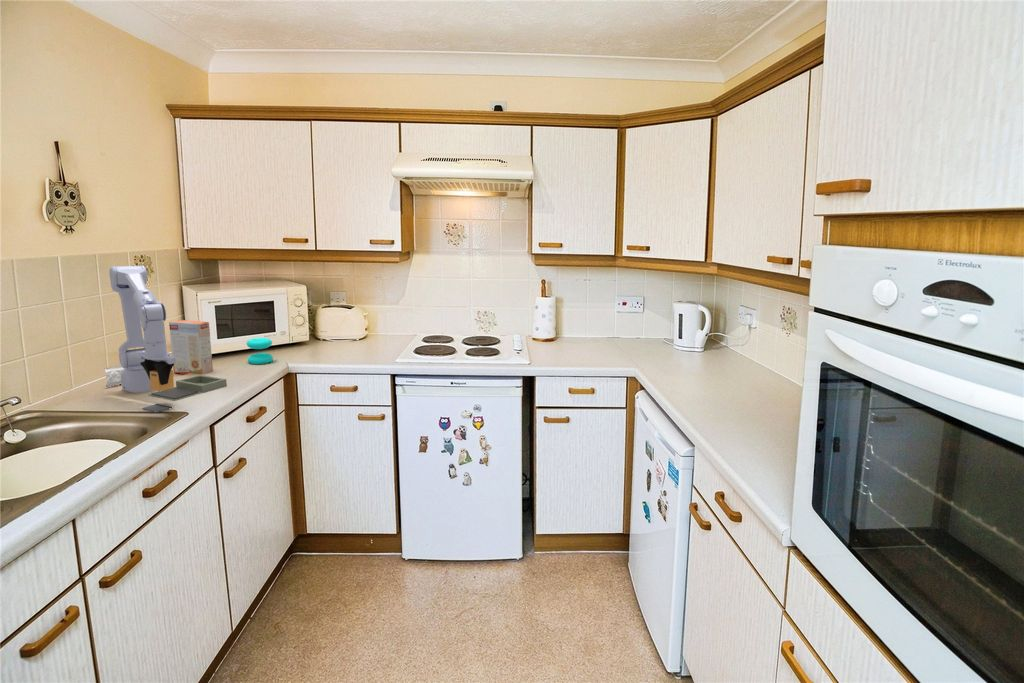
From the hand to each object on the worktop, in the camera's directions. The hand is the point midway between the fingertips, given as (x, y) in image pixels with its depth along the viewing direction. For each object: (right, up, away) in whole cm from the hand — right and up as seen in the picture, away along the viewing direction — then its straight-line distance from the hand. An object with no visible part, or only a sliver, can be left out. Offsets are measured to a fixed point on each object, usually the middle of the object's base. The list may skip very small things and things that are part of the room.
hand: (159, 383), depth 184 cm
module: (0, -2, +1) cm, 2 cm away
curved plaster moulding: (-23, -3, +24) cm, 33 cm away
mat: (0, -8, +2) cm, 8 cm away
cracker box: (-13, 0, +43) cm, 45 cm away
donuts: (+5, +4, +64) cm, 64 cm away
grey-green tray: (0, -5, +17) cm, 18 cm away
